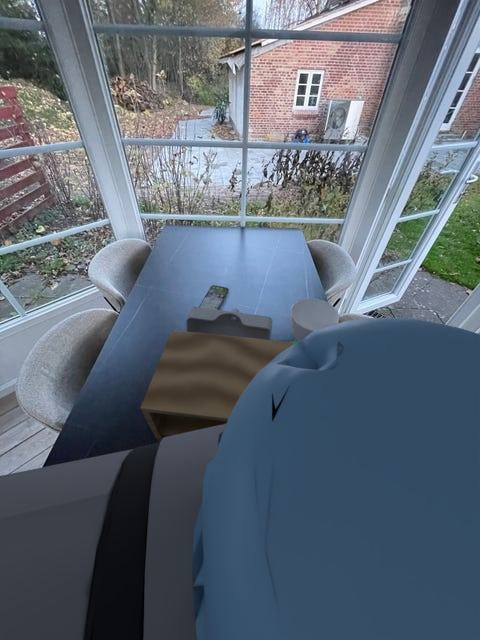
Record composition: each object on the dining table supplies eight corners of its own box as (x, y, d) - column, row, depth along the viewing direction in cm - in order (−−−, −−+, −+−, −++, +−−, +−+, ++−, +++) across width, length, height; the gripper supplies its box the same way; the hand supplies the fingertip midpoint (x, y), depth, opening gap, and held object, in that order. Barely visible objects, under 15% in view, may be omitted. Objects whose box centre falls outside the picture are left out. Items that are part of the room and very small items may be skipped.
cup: (332, 362, 82) (349, 327, 71) (290, 369, 80) (300, 334, 69) (315, 330, 91) (327, 295, 80) (277, 336, 89) (284, 300, 78)
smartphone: (229, 288, 106) (217, 312, 95) (229, 290, 106) (217, 314, 96) (211, 284, 107) (197, 308, 96) (211, 287, 108) (198, 310, 97)
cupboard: (279, 472, 60) (298, 427, 43) (165, 457, 62) (140, 408, 44) (279, 399, 73) (294, 342, 55) (185, 389, 74) (171, 330, 57)
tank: (270, 329, 91) (274, 302, 83) (265, 367, 80) (270, 340, 71) (200, 319, 94) (197, 292, 85) (186, 354, 83) (181, 327, 74)
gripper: (461, 699, 11) (321, 628, 28) (283, 424, 19) (257, 497, 36) (322, 891, 8) (260, 685, 25) (183, 478, 16) (206, 530, 33)
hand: (259, 575), depth 30 cm, fingers closed
